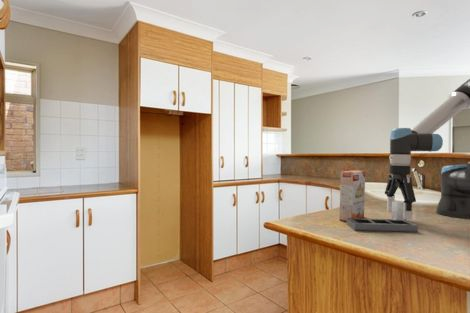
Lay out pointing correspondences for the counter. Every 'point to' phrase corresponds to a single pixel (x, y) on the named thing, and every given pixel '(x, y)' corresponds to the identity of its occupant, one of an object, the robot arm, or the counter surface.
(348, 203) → the cracker box
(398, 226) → the grey compartment tray
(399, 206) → the block
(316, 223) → the counter surface
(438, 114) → the robot arm
